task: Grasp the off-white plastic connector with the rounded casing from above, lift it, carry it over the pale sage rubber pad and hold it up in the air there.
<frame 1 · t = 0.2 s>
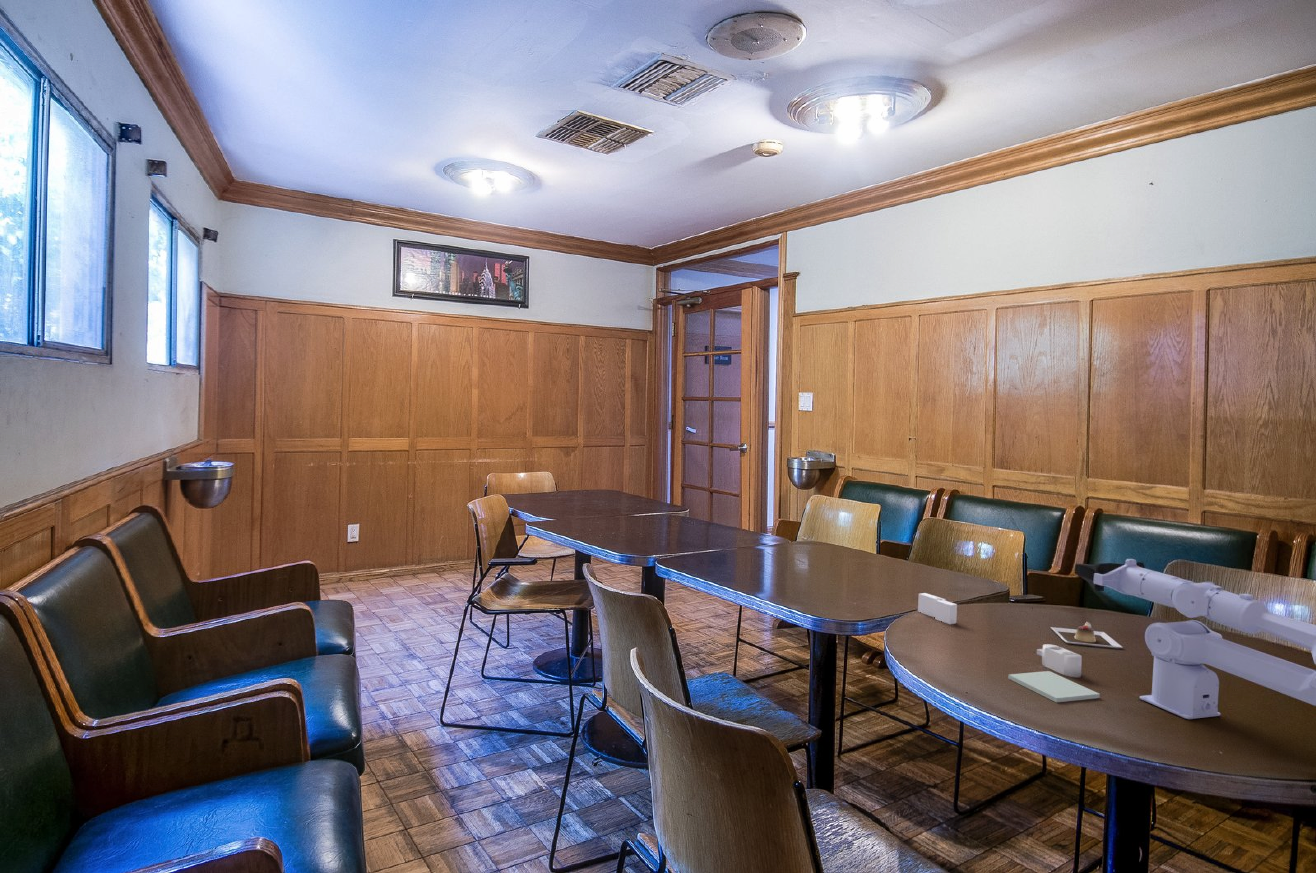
hand: (1090, 568, 150), 21 cm above the table, tool horizontal, fingers open, 7 cm apart
connector: (1060, 669, 150), on the table
dessert: (1084, 642, 172), on the table
sage pad: (1052, 687, 140), on the table
napkin holder: (936, 620, 186), on the table
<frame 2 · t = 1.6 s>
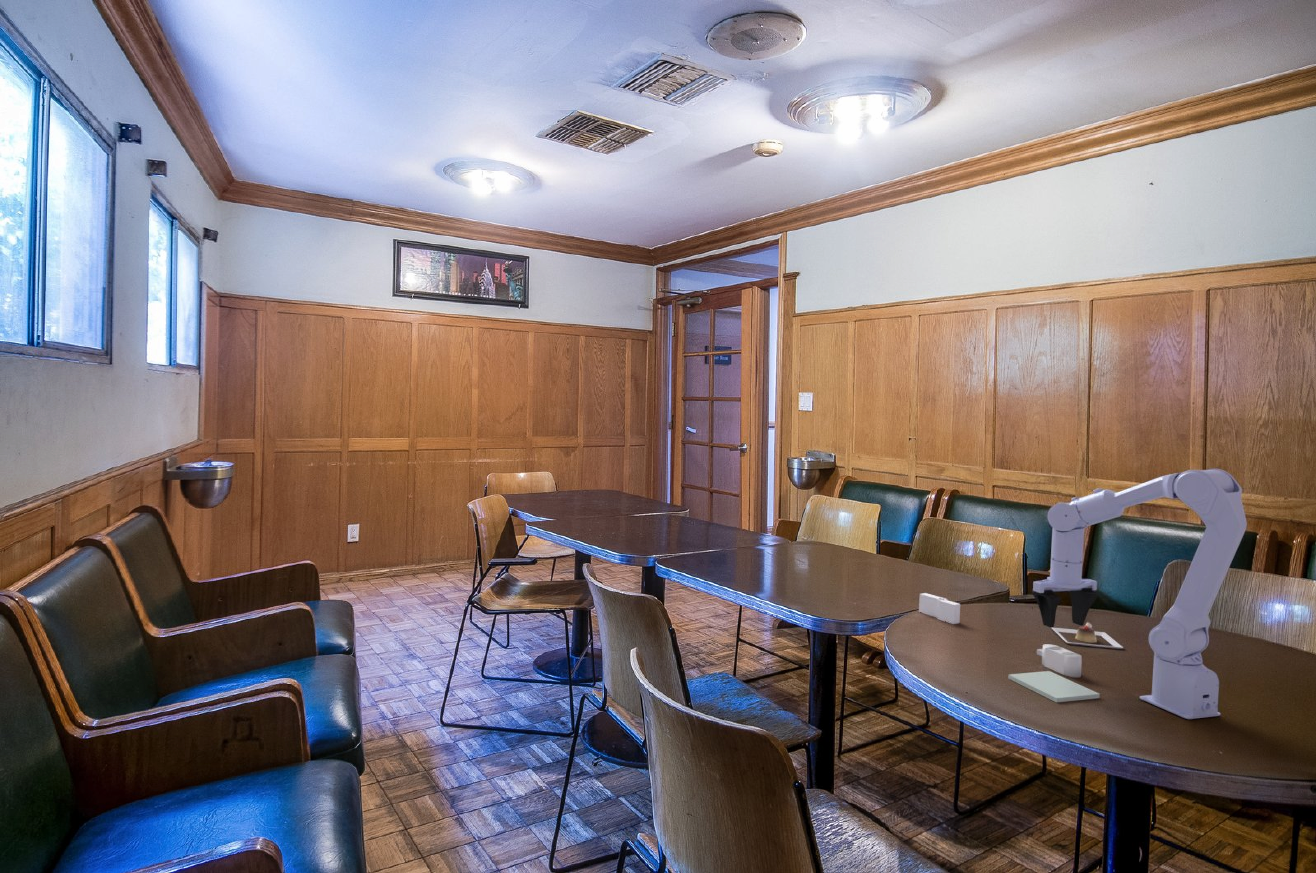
hand: (1063, 624, 150), 9 cm above the table, tool pointing down, fingers open, 7 cm apart
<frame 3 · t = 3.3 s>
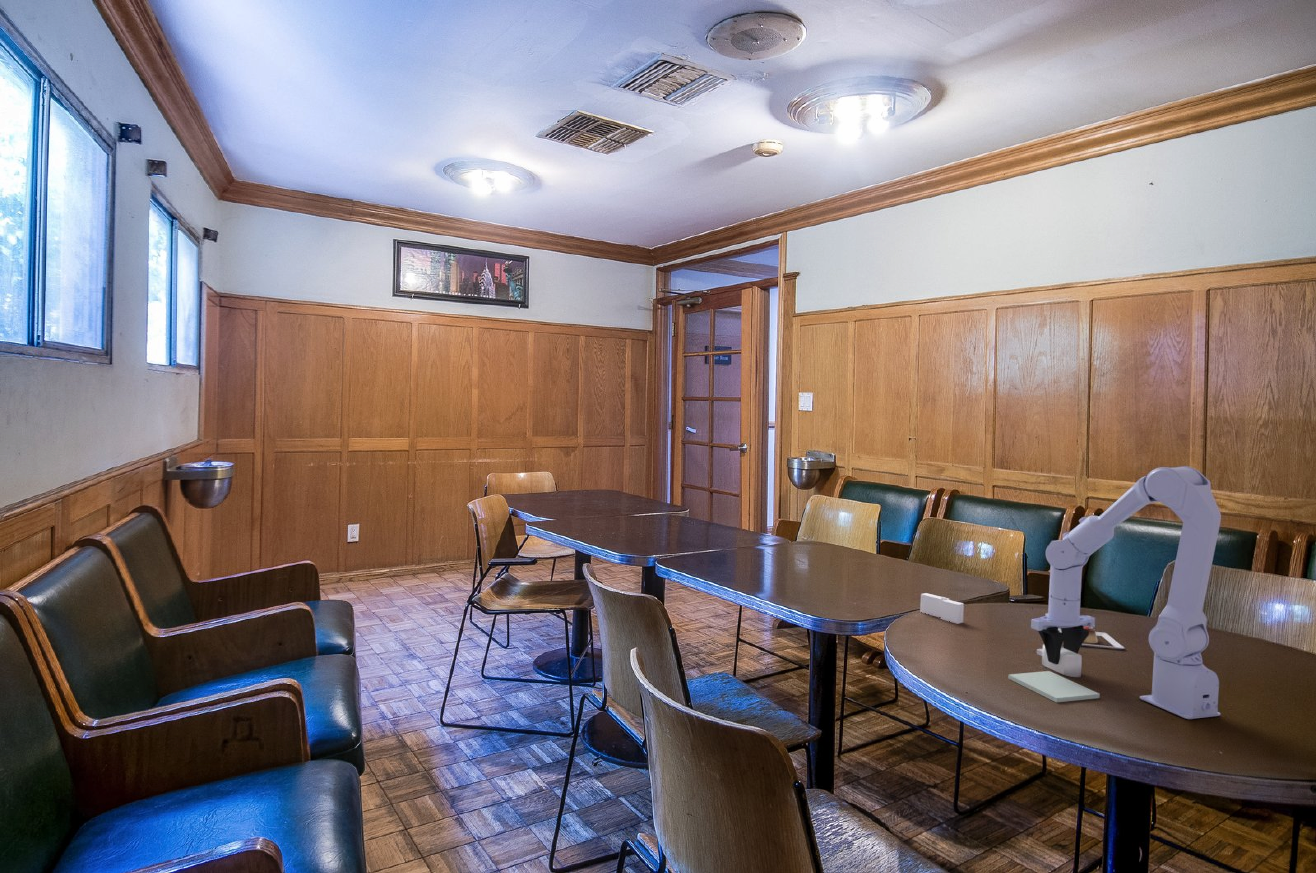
hand: (1061, 661, 150), 2 cm above the table, tool pointing down, fingers closed on connector, 4 cm apart
connector: (1060, 669, 150), on the table, touching gripper
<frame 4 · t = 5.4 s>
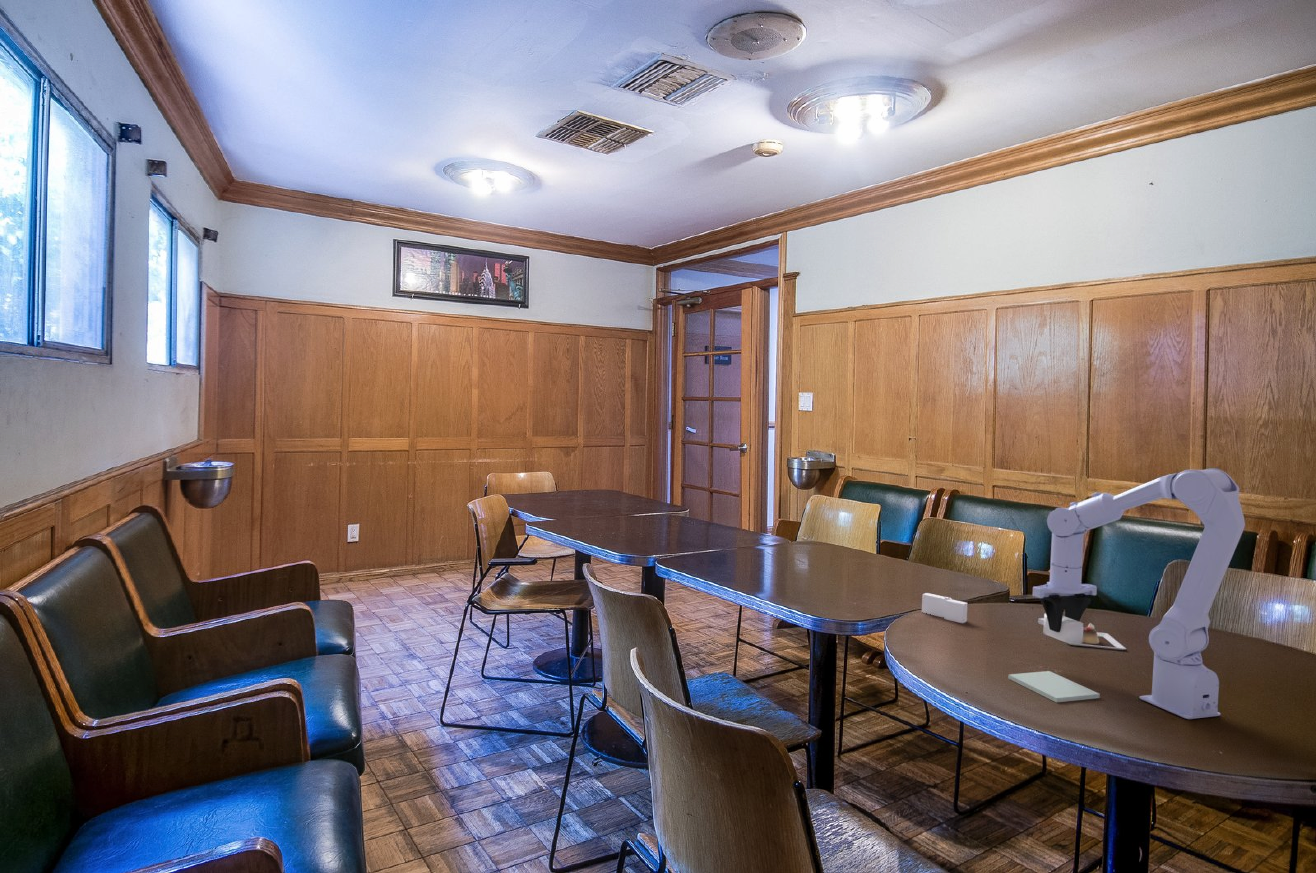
hand: (1062, 630, 150), 8 cm above the table, tool pointing down, fingers closed on connector, 4 cm apart
connector: (1062, 637, 150), point 7 cm above the table, touching gripper
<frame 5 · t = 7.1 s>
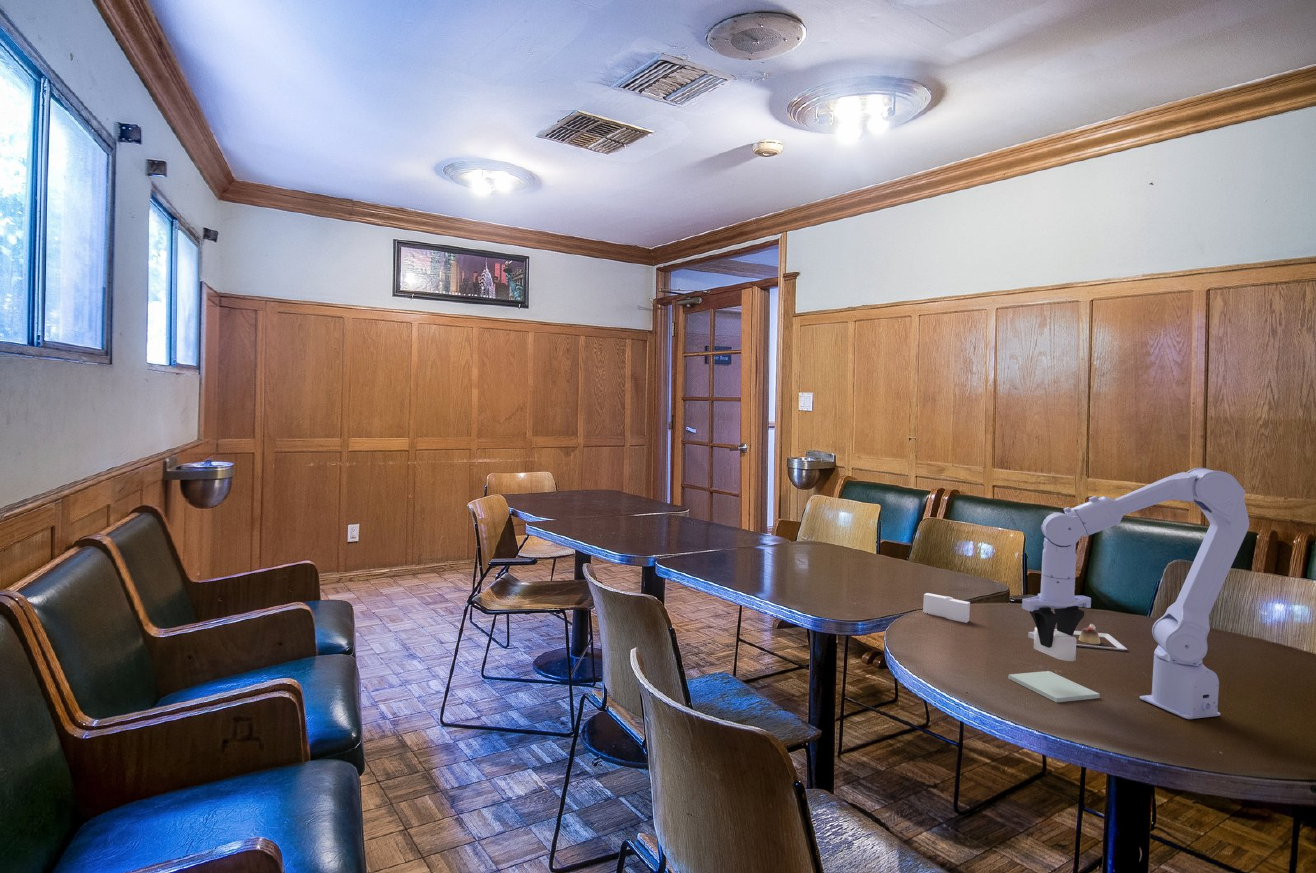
hand: (1054, 645, 140), 8 cm above the table, tool pointing down, fingers closed on connector, 4 cm apart
connector: (1054, 653, 140), point 7 cm above the table, touching gripper
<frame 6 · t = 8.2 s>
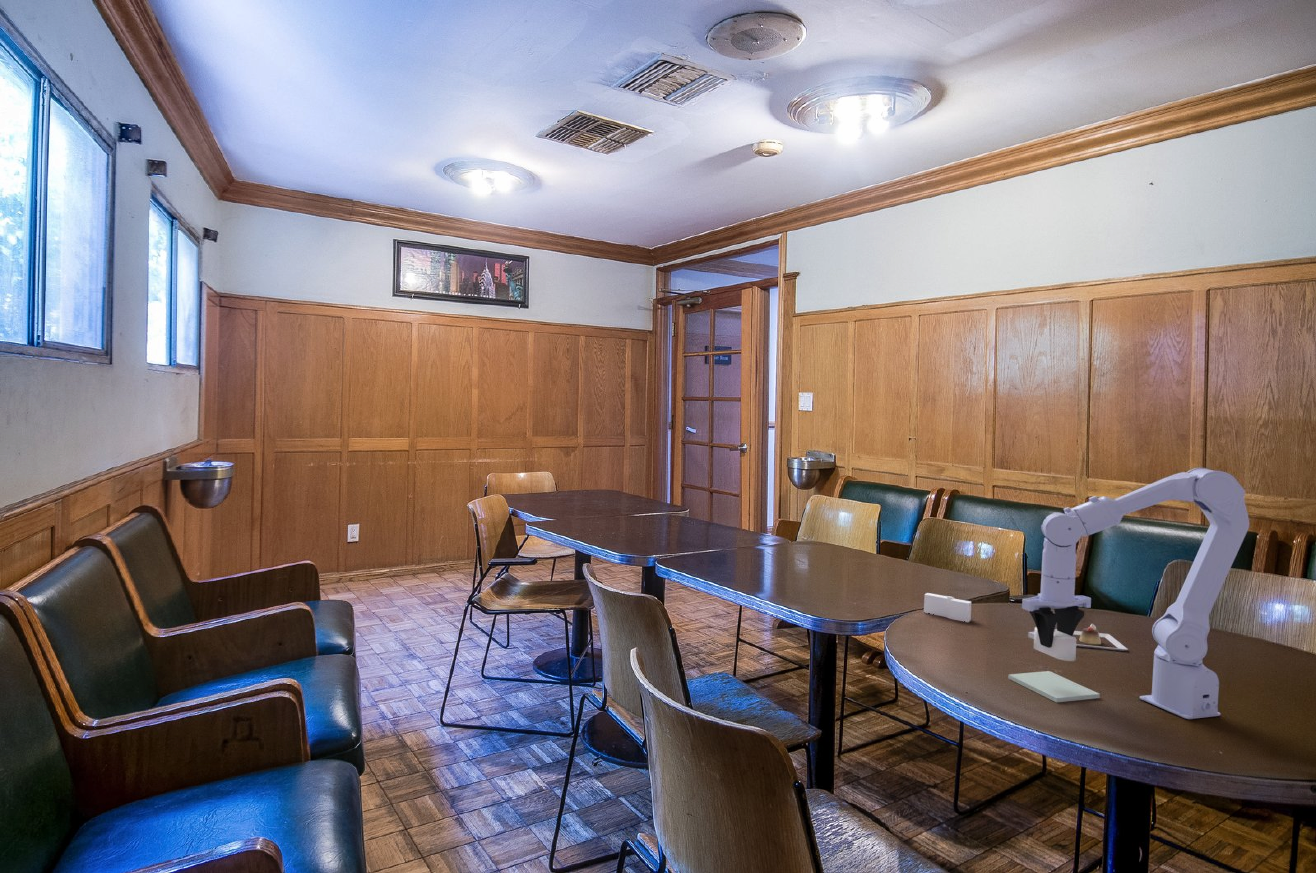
hand: (1054, 645, 140), 8 cm above the table, tool pointing down, fingers closed on connector, 4 cm apart
connector: (1054, 653, 140), point 7 cm above the table, touching gripper
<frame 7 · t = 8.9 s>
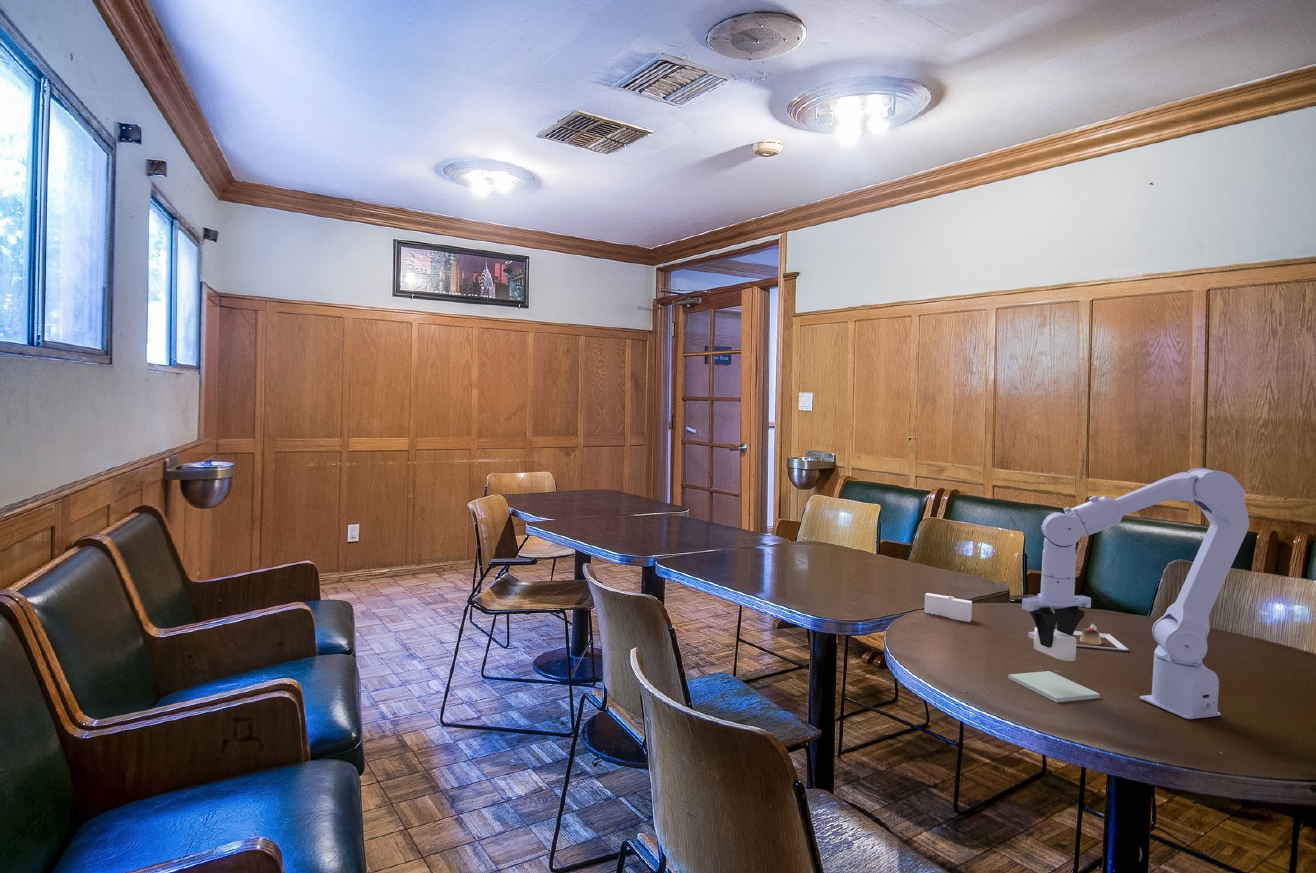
hand: (1054, 645, 140), 8 cm above the table, tool pointing down, fingers closed on connector, 4 cm apart
connector: (1054, 653, 140), point 7 cm above the table, touching gripper
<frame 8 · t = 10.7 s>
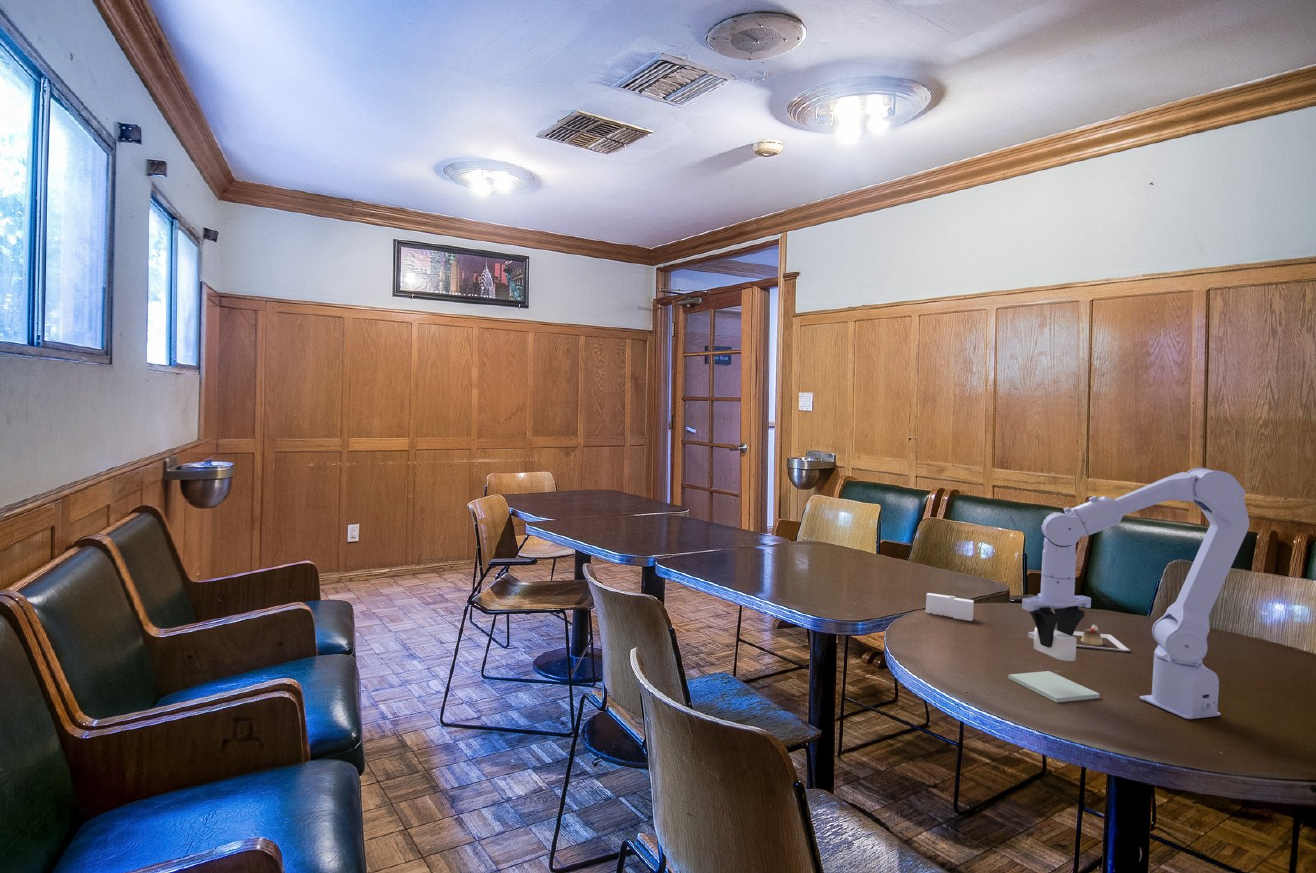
hand: (1054, 645, 140), 8 cm above the table, tool pointing down, fingers closed on connector, 4 cm apart
connector: (1054, 653, 140), point 7 cm above the table, touching gripper
at the end: the gripper is holding connector; connector point 6.8 cm above the table; connector 0.0 cm from the sage pad (horizontally) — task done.
